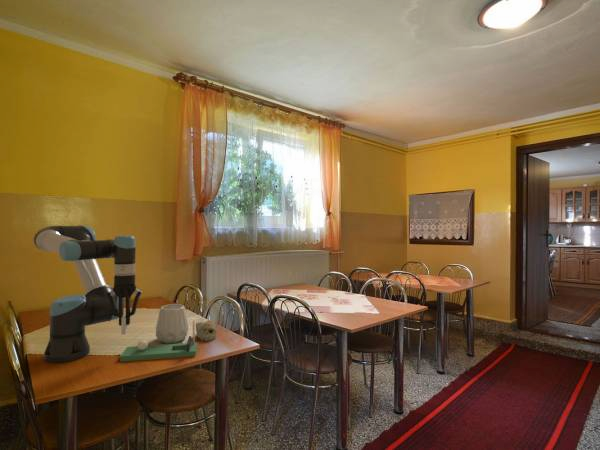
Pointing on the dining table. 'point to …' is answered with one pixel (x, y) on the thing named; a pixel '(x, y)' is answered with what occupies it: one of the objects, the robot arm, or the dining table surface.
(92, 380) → the dining table surface
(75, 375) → the dining table surface
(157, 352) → the green
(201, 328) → the seashell
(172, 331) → the vase
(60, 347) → the robot arm
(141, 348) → the ball
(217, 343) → the dining table surface
